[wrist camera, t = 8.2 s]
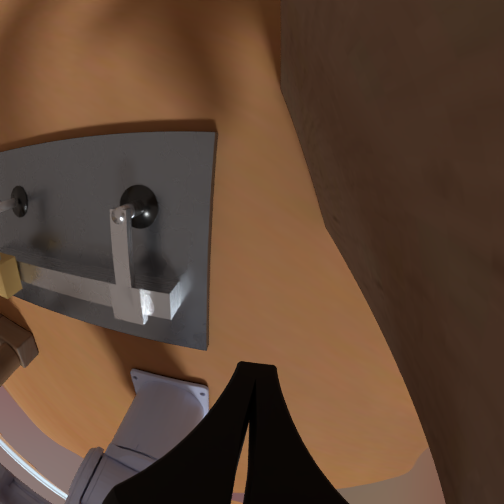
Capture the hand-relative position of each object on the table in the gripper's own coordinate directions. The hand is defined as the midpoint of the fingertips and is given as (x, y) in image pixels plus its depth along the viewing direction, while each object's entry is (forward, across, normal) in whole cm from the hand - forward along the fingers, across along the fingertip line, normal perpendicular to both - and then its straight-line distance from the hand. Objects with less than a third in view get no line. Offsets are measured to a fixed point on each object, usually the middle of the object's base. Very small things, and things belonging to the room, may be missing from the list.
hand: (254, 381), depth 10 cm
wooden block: (+10, -6, -10) cm, 15 cm away
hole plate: (+10, +17, -1) cm, 20 cm away
